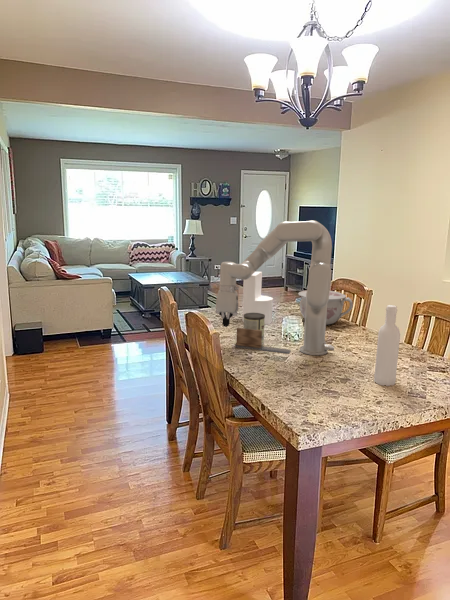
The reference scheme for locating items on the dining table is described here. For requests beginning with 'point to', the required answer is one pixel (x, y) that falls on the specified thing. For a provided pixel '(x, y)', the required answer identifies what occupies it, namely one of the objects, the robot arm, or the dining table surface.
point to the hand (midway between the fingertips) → (225, 326)
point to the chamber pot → (329, 306)
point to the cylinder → (256, 298)
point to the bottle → (387, 349)
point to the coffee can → (254, 322)
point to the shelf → (249, 337)
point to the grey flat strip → (267, 349)
